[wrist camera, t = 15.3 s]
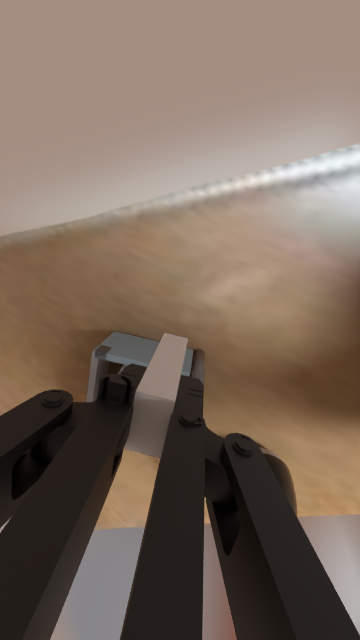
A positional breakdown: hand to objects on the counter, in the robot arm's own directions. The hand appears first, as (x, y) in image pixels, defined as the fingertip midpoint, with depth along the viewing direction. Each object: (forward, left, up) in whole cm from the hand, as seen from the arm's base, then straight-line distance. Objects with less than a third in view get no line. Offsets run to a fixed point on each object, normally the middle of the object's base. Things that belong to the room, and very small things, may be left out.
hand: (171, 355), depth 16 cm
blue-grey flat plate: (+4, +10, -24) cm, 26 cm away
